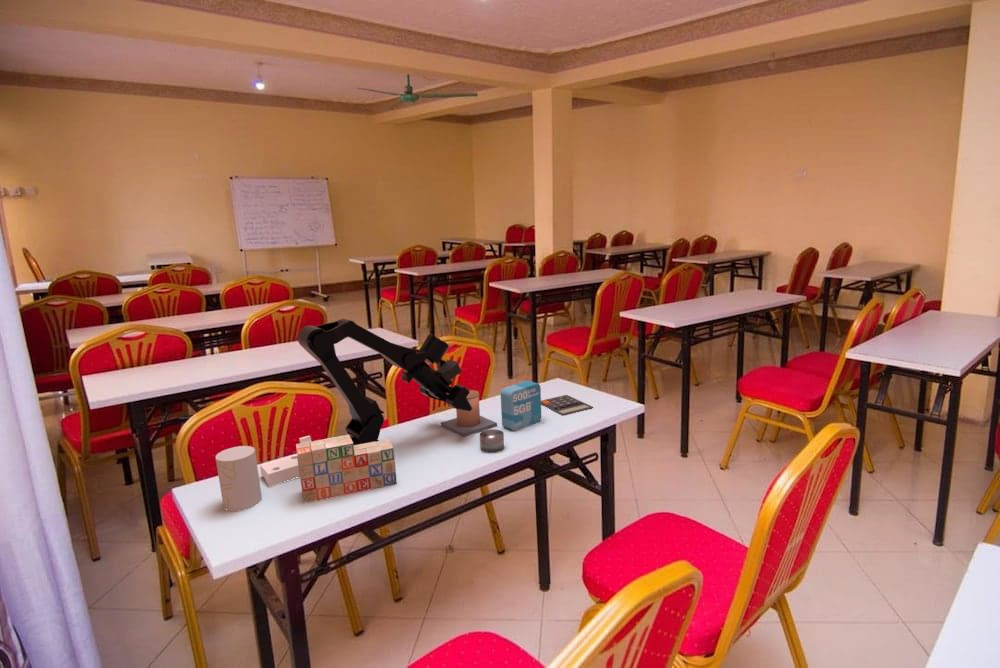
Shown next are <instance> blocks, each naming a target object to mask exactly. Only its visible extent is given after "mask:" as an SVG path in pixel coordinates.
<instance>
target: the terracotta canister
mask: <svg viewBox="0 0 1000 668" xmlns="http://www.w3.org/2000/svg"><path fill="white" fill-rule="evenodd" d="M469 390H470V393H469V394H468V396H467V397H466V398H467V400H468V402H469V403H470V405H471V407H472V410H471V411H466V410H461V409H455V410H456V411H455V412H456V418H457V424H458V425H459V426H462V427H472V426H476V425H478V424H479V423H480V416H481V415H480V414H481V413H480V393H479V391H478V390H474V389H469Z"/></svg>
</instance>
